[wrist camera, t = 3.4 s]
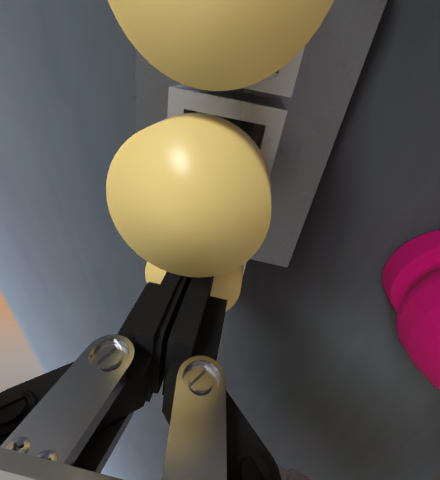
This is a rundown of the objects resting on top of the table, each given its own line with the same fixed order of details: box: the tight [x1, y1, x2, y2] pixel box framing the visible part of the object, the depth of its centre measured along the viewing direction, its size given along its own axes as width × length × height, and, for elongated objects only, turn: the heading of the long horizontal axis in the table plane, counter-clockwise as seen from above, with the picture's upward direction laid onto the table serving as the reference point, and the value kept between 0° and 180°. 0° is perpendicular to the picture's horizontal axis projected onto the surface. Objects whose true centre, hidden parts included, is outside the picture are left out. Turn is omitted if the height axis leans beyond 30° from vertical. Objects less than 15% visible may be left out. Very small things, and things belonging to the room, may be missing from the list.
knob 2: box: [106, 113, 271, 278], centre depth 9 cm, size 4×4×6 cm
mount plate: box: [136, 0, 387, 278], centre depth 13 cm, size 14×10×5 cm
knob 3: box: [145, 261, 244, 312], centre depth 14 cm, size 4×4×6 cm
